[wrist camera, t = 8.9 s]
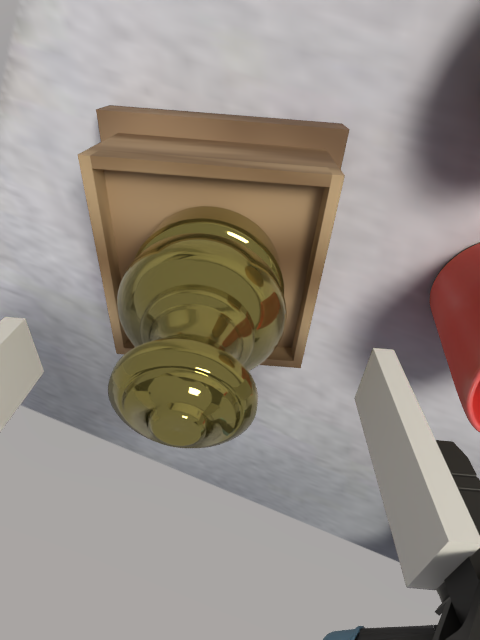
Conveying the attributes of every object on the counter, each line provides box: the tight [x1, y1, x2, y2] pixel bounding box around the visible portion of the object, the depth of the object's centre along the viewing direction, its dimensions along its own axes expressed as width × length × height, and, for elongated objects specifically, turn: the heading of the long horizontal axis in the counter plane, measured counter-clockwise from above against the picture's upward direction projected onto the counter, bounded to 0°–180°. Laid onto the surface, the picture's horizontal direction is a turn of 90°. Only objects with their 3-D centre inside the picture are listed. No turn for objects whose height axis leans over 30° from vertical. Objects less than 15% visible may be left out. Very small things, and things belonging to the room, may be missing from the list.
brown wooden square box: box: [78, 105, 349, 368], centre depth 21 cm, size 13×13×7 cm
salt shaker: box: [108, 206, 287, 448], centre depth 15 cm, size 7×8×10 cm
